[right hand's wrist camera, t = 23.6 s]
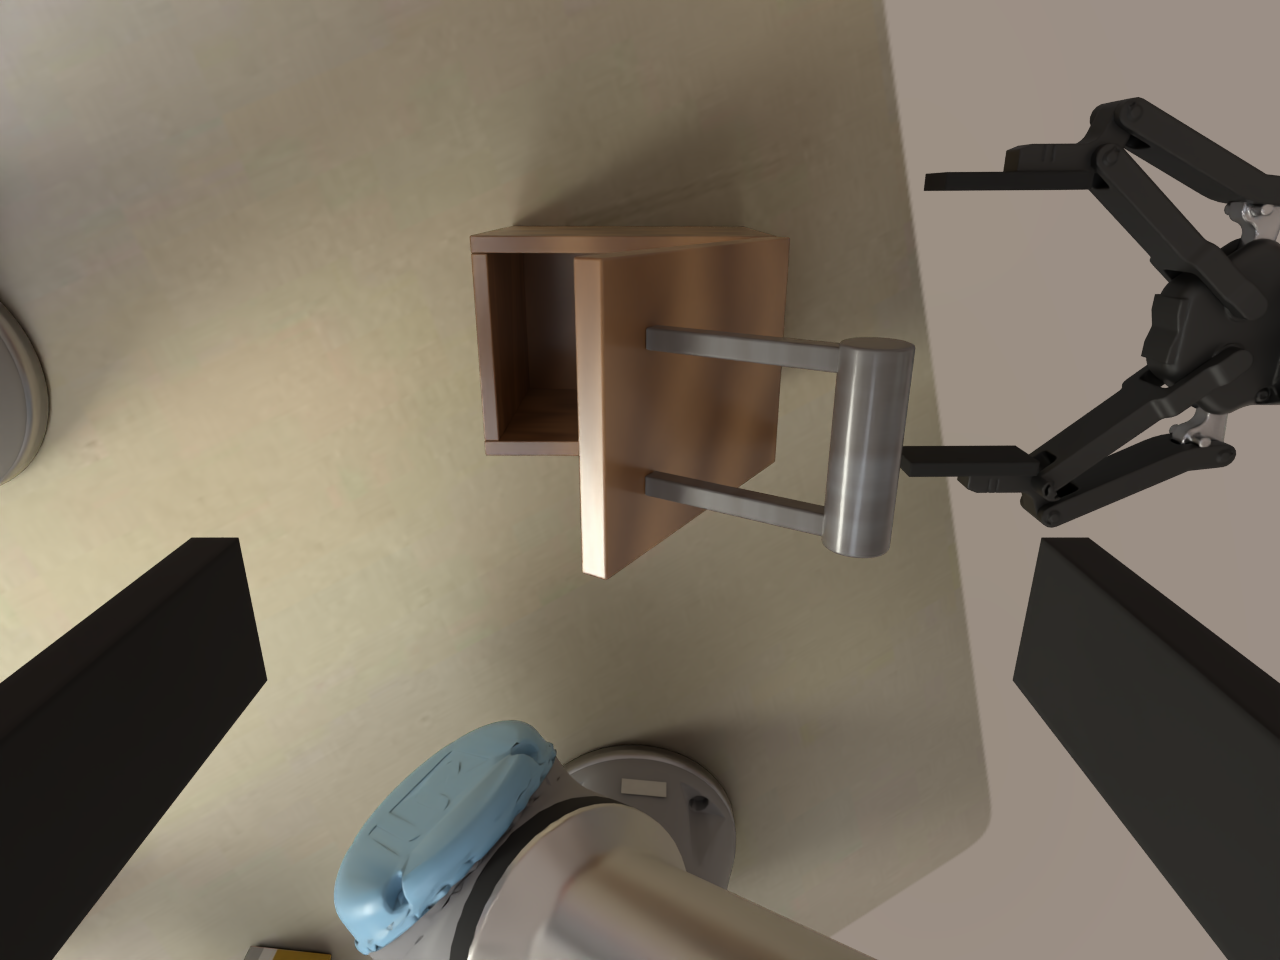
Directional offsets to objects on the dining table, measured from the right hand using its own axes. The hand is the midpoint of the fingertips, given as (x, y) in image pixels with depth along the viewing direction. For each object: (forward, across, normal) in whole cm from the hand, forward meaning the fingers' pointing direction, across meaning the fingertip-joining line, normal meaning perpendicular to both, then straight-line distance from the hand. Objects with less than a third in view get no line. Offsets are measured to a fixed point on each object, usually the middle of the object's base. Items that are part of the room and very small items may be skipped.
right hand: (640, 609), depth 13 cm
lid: (+17, -2, 0) cm, 17 cm away
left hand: (+26, -14, 0) cm, 30 cm away
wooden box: (+34, +1, 0) cm, 34 cm away
